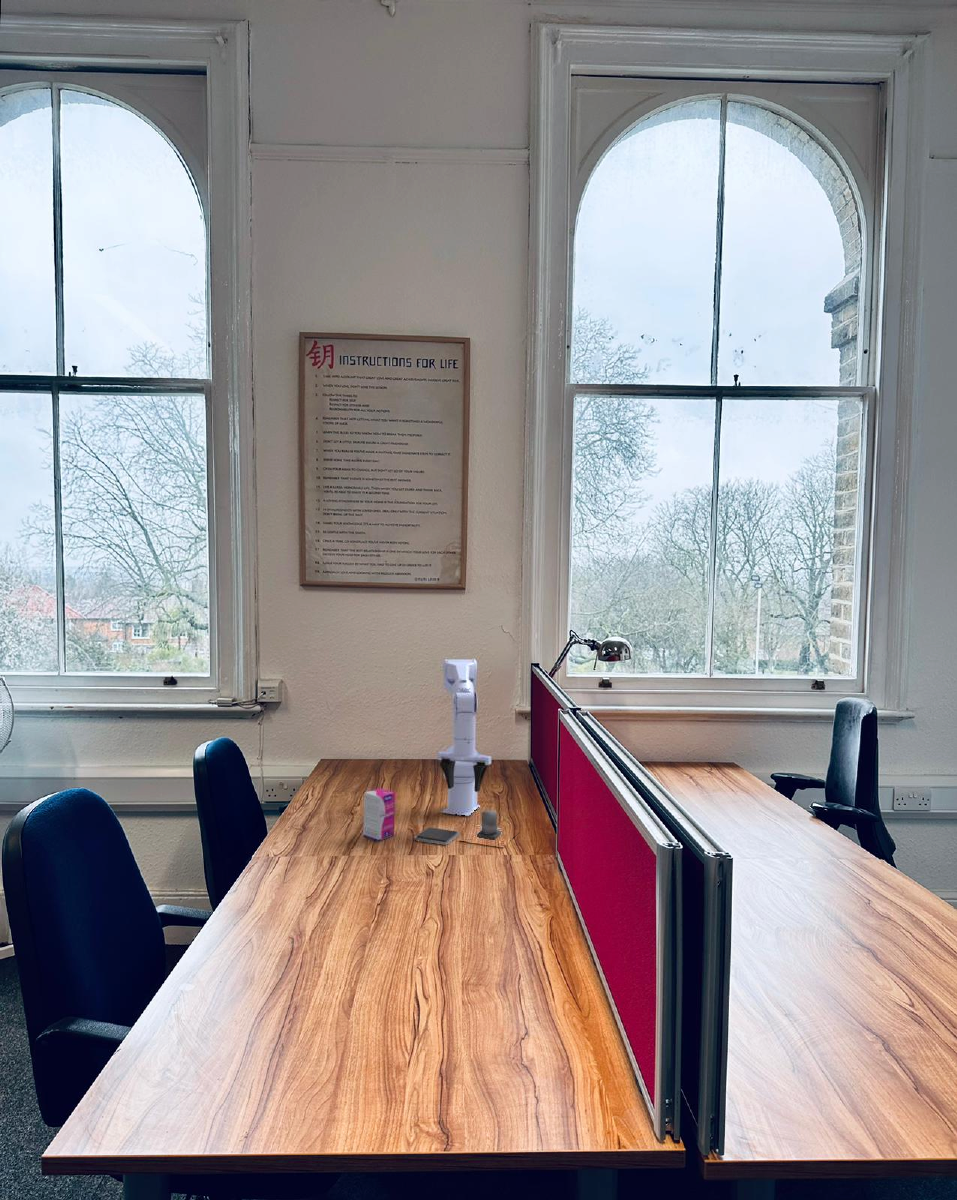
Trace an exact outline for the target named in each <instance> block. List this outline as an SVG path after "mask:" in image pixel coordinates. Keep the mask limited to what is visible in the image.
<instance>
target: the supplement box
mask: <svg viewBox="0 0 957 1200" xmlns="http://www.w3.org/2000/svg"><path fill="white" fill-rule="evenodd" d="M363 795H364V796H363V797H364V798H363V799H364V800H363V801H364V802H363V804H364V805H363V826H362V827H363V830H362V831H363V835H362V837H363V838H365V837H367V838H366V839H369V838H370V839H369V840H372V841H375V840H376V841H375V842H380V841H382V840H385V839H387V838H388V839H389V838H391V837H394V836H395V814H396V813H395V810H396V809H395V808H396V792H394V791H390V790H387V789H384V788H380V787H379V788H376V789H373V790H369V791H366V792H364V793H363Z"/></svg>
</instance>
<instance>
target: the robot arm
mask: <svg viewBox="0 0 957 1200" xmlns="http://www.w3.org/2000/svg"><path fill="white" fill-rule="evenodd" d="M442 671H443V672H442V673H443V675H442V676H443V686H444V690H446V691H447V692H449V694H450V697H451V704H452V705H451V710H452V745H451V746H450V747H447V749H446V750H444V751H439V752H437V760H438V761H441V762H440V763H439V767H440V768H441V770H442V772H443V778H444V779H445V781H446V784H447V807H446V808H445V809H443V810H442V811H441V813H443V814H447V815H448V814H449V815H455V814H457V816H461V815H465V816H464V817H469V816H470V815H472V814H473V813H475V811H474V810H476V809H477V808H478V807H479V808H481V805H480V804H478V792H480V791H481V786H482V783H483V779H484V776H485V774H486V772H487V770H488V767H489V766H490V765H491V764H492V756H491V755H484V754H479V753H478V750H476V718H477V717H476V715H477V713H478V707H479V705H478V704H479V703H478V702H479V700H478V699H479V698H478V694H477V691H475V688H476V683H477V677H478V676H477V675H478V662H477V660H476V659H475V658H473V659H447V658H445V659H444V660H443V668H442ZM479 808H478V809H479ZM478 809H477V810H478ZM477 810H476V811H477ZM471 813H472V814H471Z"/></svg>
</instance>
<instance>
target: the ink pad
mask: <svg viewBox="0 0 957 1200" xmlns="http://www.w3.org/2000/svg"><path fill="white" fill-rule="evenodd" d="M458 835H459V836H460V832H459V831H456V830H451V829H450V830H449V829H443V828H436V827H430V826H429V827H426V828H425V829H424V830H422V831H421V832H420V833H418V834H417V835H415V836H414V837H413V840H419V841H418V842H420V841H422V842H421V843H426V842H428V844H432V843H438V844H443V845H442V846H444V845H447V844H448V843H449V844H451V843H452V842H451V840H453V839H454V838H455V837H457V836H458ZM459 836H458V837H459ZM458 837H457V838H458ZM454 840H455V839H454ZM454 840H453V841H454ZM450 842H451V843H450ZM438 844H437V845H438ZM449 844H448V845H449ZM448 845H447V846H448Z"/></svg>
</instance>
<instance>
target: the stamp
mask: <svg viewBox="0 0 957 1200" xmlns="http://www.w3.org/2000/svg"><path fill="white" fill-rule="evenodd" d="M480 823H481V825H480V826H481V831H479V832H478V833H477V837H479V838H484V839H489V840H496V839H497V837H499V836H500V835H501V834H502V831H501V830H497V829H498V812H497V811H495V810H483V811H482V812H481V822H480Z"/></svg>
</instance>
